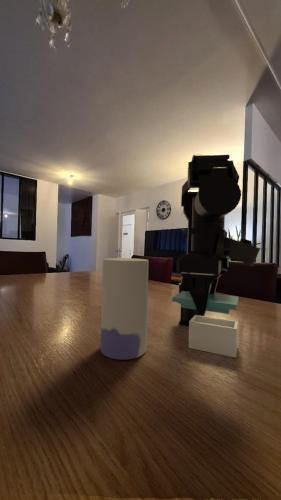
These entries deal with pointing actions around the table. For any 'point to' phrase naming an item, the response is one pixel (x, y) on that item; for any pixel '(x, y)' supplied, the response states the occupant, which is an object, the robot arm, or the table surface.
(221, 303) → the lid
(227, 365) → the table surface
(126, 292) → the container
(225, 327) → the storage box
